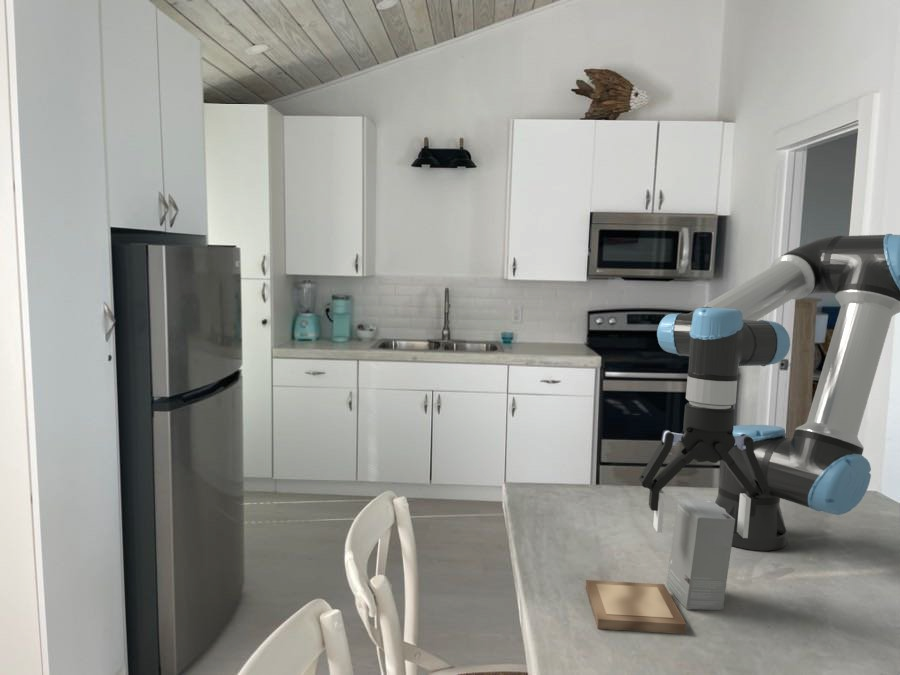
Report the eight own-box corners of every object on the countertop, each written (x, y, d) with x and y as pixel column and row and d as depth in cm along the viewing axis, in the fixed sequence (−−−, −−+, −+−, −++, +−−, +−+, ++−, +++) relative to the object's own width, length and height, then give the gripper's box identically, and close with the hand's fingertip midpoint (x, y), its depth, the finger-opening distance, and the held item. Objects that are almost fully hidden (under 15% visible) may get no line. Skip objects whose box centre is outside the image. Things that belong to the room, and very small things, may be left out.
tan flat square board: (663, 592, 115) (664, 583, 114) (685, 633, 102) (686, 623, 101) (585, 588, 115) (586, 579, 115) (597, 628, 102) (598, 618, 102)
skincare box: (665, 587, 117) (671, 497, 115) (705, 586, 117) (712, 497, 116) (686, 612, 108) (693, 515, 107) (729, 611, 109) (737, 515, 107)
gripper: (779, 404, 113) (768, 528, 114) (626, 395, 114) (618, 519, 116) (800, 413, 105) (787, 546, 107) (636, 404, 106) (627, 535, 108)
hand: (699, 532), depth 111 cm, fingers open, 13 cm apart
